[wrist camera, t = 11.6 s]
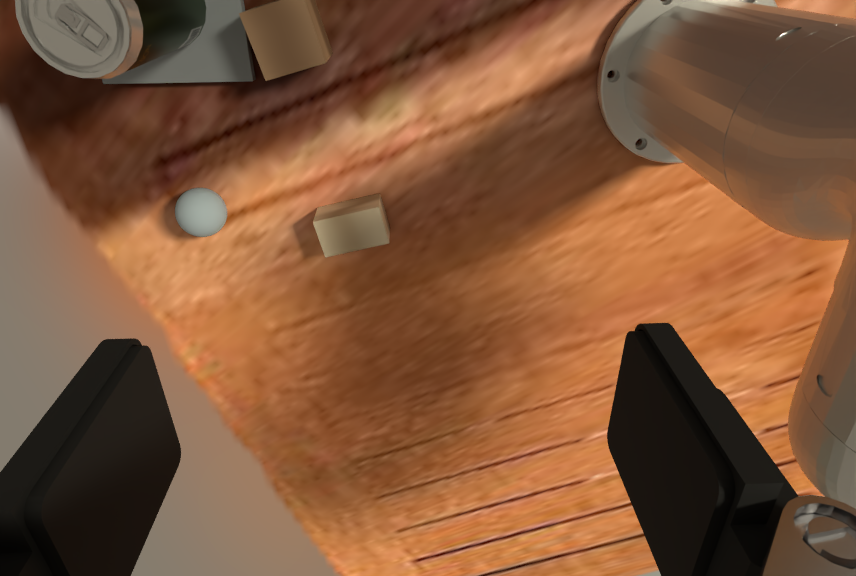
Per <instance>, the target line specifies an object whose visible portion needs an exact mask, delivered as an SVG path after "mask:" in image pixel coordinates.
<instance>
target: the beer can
mask: <svg viewBox="0 0 856 576" xmlns="http://www.w3.org/2000/svg"><path fill="white" fill-rule="evenodd" d="M15 6H16V16H17V19H18V22H19V25H20V28H21V30H22V33H23V35H24V36H25V38H26V39H27V41H28V42H29V44H30V45H31V47H32V48H33V50H34V51H35V52H36V53H37V54H38V55H39V56H40V57H41V58H43V59H44V60H45V61H46V62H47V63H48V64H49V65H51V66H53V67H54V68H56V69H58V70H60V71H62V72H63V73H65V74H68V75H72V76H76V77H80V78H90V79H109V78H113V77H115V76H117V75H120V74H122V73H124V72H127V71H129V70H131V69H133V68H136V67H138V66H140V65H143V64H145V63H147V62H149V61H152V60H154V59H156V58H159V57H161V56H163V55H165V54H168V53H170V52H172V51H175V50H177V49H179V48H181V47H184V46H186V45H188V44H191V43H192V42H193V41H194V40H195V39H196V38H197V37H198V36H199V35H200V33H201V31H202V29H203V26H204V24H205V19H206V4H205V0H15Z"/></svg>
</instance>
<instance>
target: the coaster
mask: <svg viewBox="0 0 856 576" xmlns="http://www.w3.org/2000/svg"><path fill="white" fill-rule="evenodd" d="M205 4H206V19H205V24H204V26H203V29H202V31H201V33H200V35H199V36H198V37H197V38H196V39H195V40H194V41H193V42H192V43H191V44H188V45H186V46H184V47H181V48H179V49H177V50H175V51H172V52H170V53H168V54H165V55H163V56H161V57H159V58H156V59H154V60H152V61H149V62H147V63H145V64H143V65H140V66H138V67H136V68H133V69H131V70H129V71H127V72H124V73H122V74H120V75H117V76H115V77H113V78H109V79H102V81H103V84H134V83H190V82H245V81H254V80H255V72H254V65H253V59H252V52H251V46H250V40H249V38H248V35H247V33H246V30H245V28H244V25H243V23H242V20H241V18H240V15H239V13H241V12H244V11H245V6H244V0H205Z"/></svg>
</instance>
